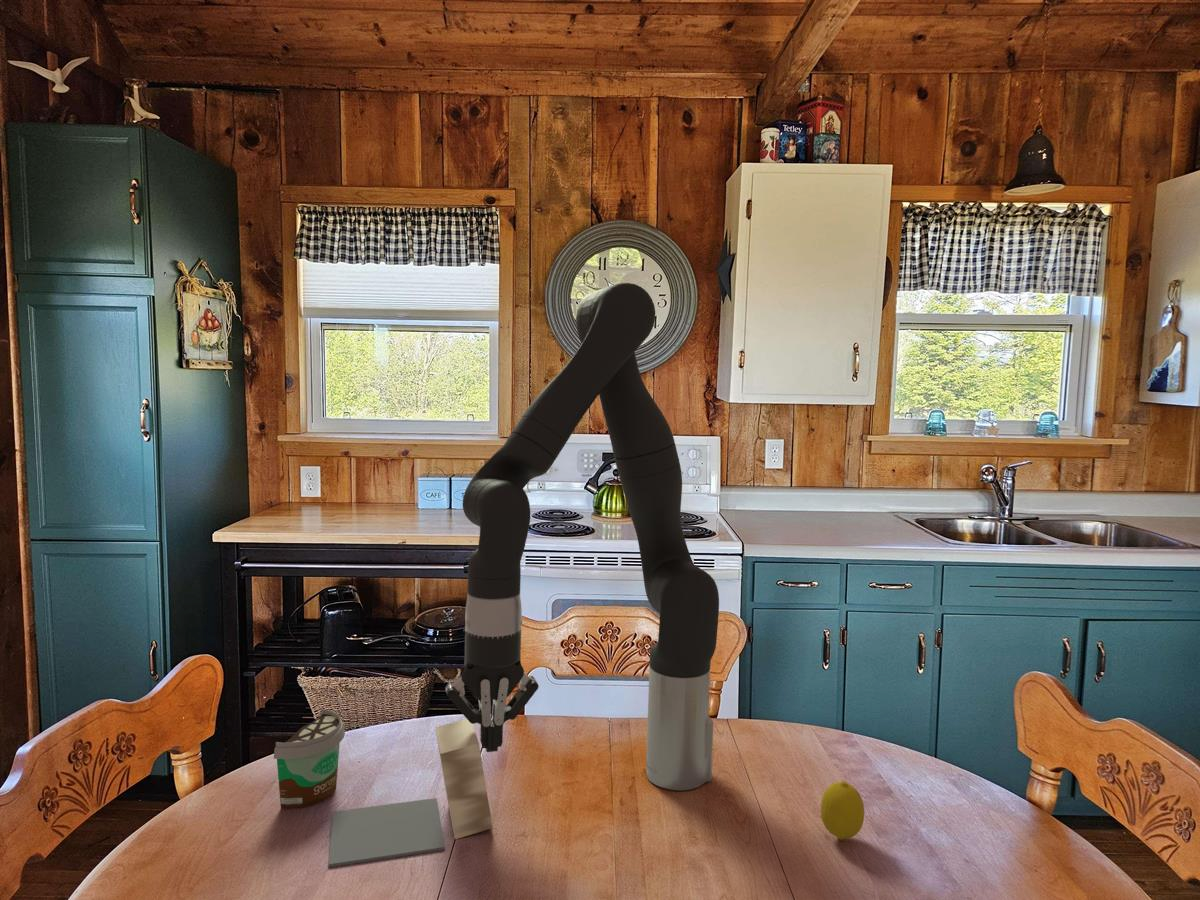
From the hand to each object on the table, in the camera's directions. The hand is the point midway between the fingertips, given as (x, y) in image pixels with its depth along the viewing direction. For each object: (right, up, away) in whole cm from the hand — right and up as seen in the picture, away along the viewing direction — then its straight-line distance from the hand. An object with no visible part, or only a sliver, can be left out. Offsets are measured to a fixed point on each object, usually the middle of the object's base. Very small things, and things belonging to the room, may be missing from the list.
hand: (491, 749), depth 105 cm
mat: (-13, -10, -3) cm, 17 cm away
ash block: (-3, -9, 0) cm, 10 cm away
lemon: (+47, -11, -2) cm, 48 cm away
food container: (-26, -9, +6) cm, 28 cm away
